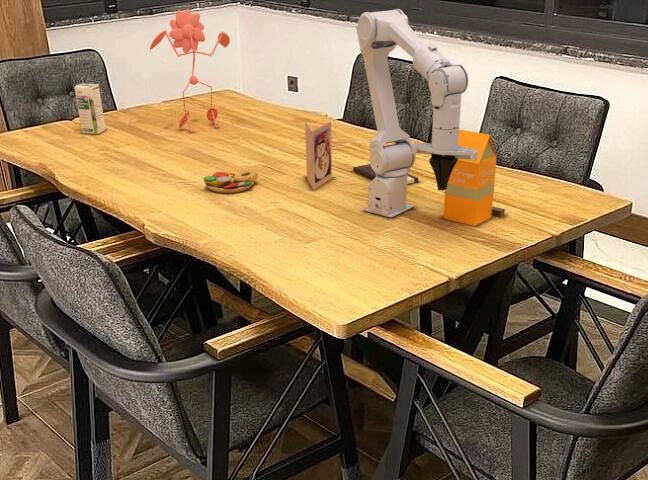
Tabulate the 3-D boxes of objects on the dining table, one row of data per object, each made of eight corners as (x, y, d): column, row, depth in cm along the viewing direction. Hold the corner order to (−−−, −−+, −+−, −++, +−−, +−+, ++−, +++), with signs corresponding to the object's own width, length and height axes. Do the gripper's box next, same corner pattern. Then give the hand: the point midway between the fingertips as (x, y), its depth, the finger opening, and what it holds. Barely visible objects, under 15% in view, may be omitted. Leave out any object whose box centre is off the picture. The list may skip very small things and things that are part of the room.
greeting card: (316, 190, 217) (314, 131, 209) (291, 187, 219) (288, 128, 211) (334, 178, 225) (333, 121, 217) (310, 175, 228) (308, 118, 220)
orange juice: (460, 209, 203) (466, 125, 192) (491, 217, 198) (499, 131, 188) (442, 218, 198) (447, 132, 187) (474, 226, 193) (481, 138, 182)
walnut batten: (500, 217, 198) (500, 211, 197) (457, 207, 205) (457, 201, 204) (504, 215, 199) (505, 209, 199) (461, 204, 206) (462, 199, 205)
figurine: (240, 124, 276) (232, 8, 257) (169, 137, 264) (155, 15, 245) (219, 115, 287) (209, 3, 268) (149, 127, 274) (134, 10, 256)
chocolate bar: (380, 161, 234) (418, 178, 221) (380, 165, 235) (418, 181, 222) (353, 167, 230) (390, 183, 217) (353, 170, 231) (390, 187, 218)
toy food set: (263, 181, 224) (262, 169, 222) (245, 196, 213) (244, 184, 212) (217, 177, 227) (215, 165, 226) (197, 192, 217) (196, 180, 215)
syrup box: (81, 133, 269) (73, 86, 261) (91, 129, 274) (83, 82, 266) (97, 134, 268) (89, 87, 260) (106, 130, 272) (99, 83, 264)
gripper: (484, 125, 178) (479, 188, 186) (421, 118, 184) (418, 179, 191) (473, 133, 173) (468, 197, 180) (408, 126, 179) (406, 188, 186)
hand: (442, 189), depth 185 cm, fingers closed
